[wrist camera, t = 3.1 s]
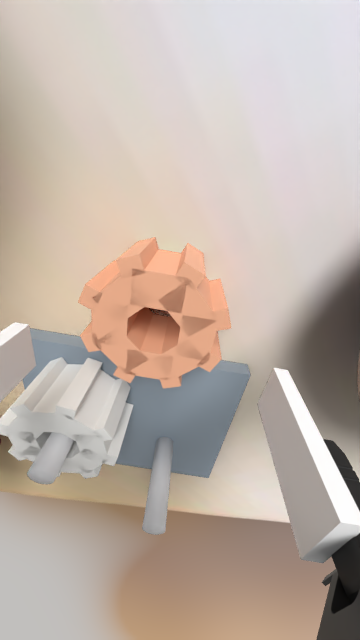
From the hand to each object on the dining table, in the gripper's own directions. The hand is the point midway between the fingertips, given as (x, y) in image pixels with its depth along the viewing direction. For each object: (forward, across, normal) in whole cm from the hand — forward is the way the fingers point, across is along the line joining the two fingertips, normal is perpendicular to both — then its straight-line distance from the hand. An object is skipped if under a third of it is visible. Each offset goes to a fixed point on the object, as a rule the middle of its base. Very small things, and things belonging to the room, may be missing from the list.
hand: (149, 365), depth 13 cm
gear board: (+8, -2, -14) cm, 17 cm away
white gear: (+7, -7, -11) cm, 15 cm away
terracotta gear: (+8, 0, 0) cm, 8 cm away
